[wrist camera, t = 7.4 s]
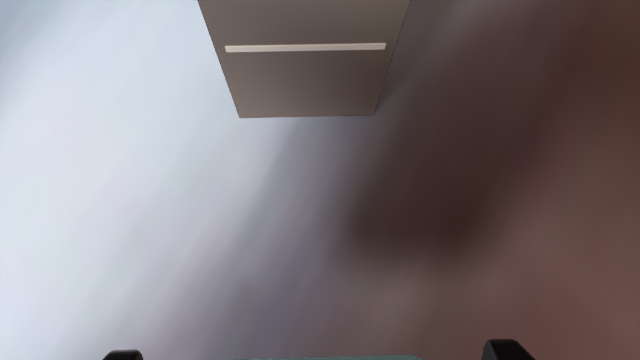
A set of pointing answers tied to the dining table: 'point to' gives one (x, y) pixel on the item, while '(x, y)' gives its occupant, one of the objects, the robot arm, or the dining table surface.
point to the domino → (304, 53)
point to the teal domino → (351, 358)
